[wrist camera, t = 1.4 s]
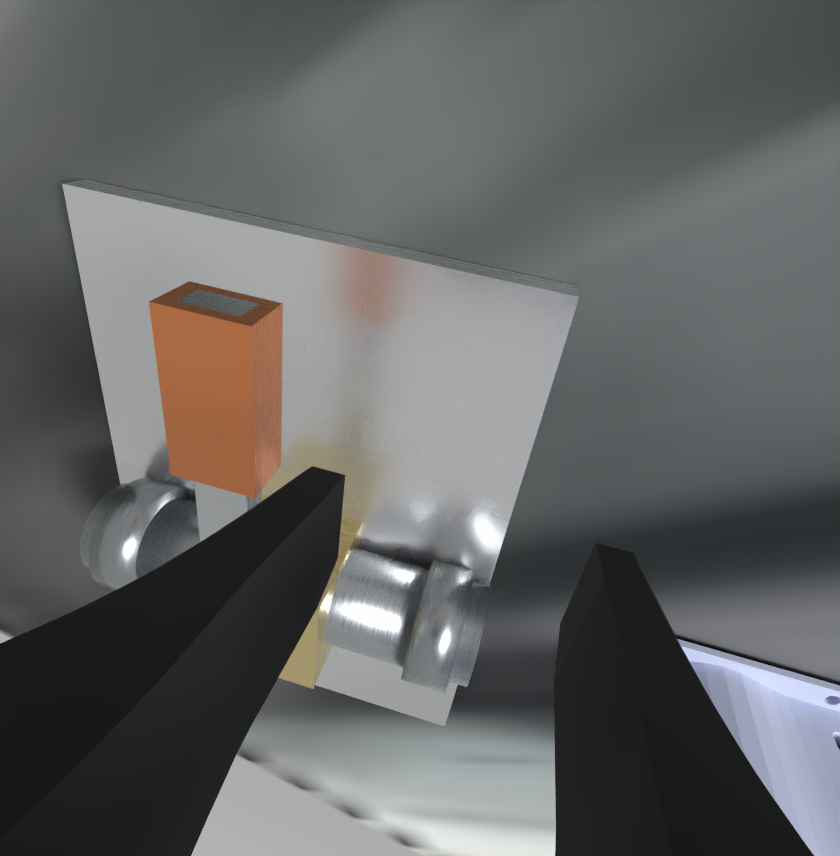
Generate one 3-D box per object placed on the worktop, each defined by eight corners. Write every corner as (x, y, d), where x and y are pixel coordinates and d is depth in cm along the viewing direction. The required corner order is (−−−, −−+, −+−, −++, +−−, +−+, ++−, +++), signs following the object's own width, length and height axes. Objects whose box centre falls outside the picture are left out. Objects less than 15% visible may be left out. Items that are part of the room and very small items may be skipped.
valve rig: (579, 286, 16) (579, 371, 11) (448, 707, 28) (422, 836, 23) (85, 179, 18) (-93, 212, 13) (160, 616, 30) (80, 717, 25)
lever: (284, 679, 19) (265, 716, 18) (216, 657, 20) (193, 692, 19) (291, 305, 12) (260, 328, 11) (181, 279, 12) (139, 299, 11)
